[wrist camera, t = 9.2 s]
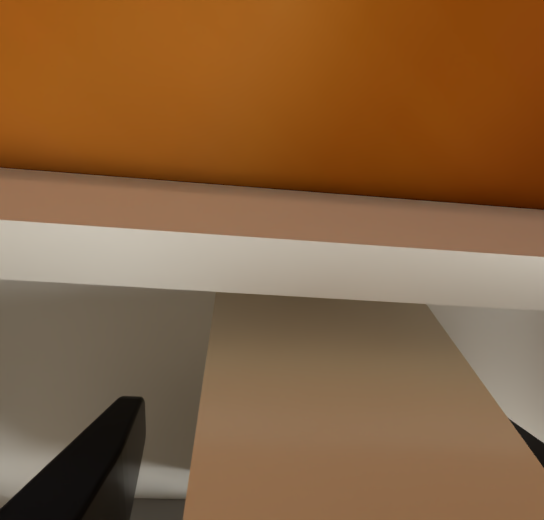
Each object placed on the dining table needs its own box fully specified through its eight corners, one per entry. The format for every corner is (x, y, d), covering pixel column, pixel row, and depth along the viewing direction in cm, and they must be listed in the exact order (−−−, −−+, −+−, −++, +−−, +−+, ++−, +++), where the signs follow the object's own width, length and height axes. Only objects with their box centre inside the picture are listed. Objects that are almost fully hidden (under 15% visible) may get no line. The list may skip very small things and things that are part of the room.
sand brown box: (378, 477, 10) (474, 789, 6) (208, 472, 9) (174, 799, 5) (426, 304, 8) (623, 577, 4) (215, 292, 8) (174, 575, 3)
